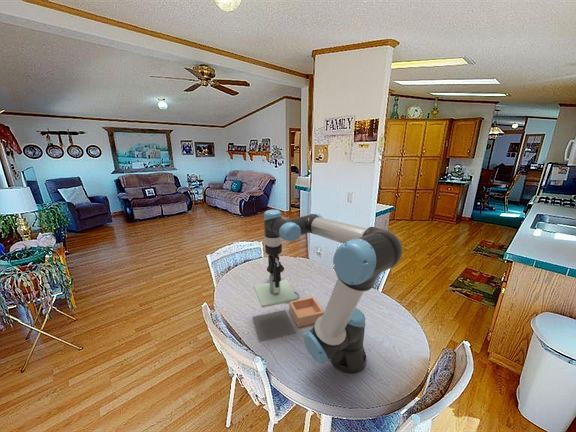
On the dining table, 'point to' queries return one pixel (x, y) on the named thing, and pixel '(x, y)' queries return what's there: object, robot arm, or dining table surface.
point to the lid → (271, 298)
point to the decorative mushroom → (280, 268)
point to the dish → (305, 311)
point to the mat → (273, 325)
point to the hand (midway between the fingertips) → (275, 289)
